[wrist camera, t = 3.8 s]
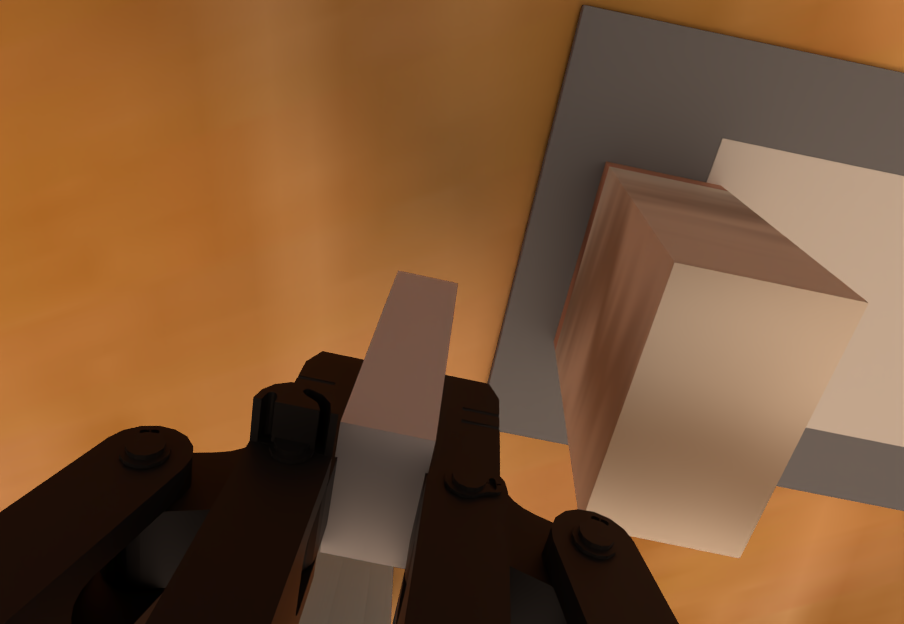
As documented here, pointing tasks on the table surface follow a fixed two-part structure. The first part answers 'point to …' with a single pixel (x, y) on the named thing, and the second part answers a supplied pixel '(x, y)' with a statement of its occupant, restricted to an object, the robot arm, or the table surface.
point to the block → (691, 358)
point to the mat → (757, 186)
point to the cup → (348, 592)
